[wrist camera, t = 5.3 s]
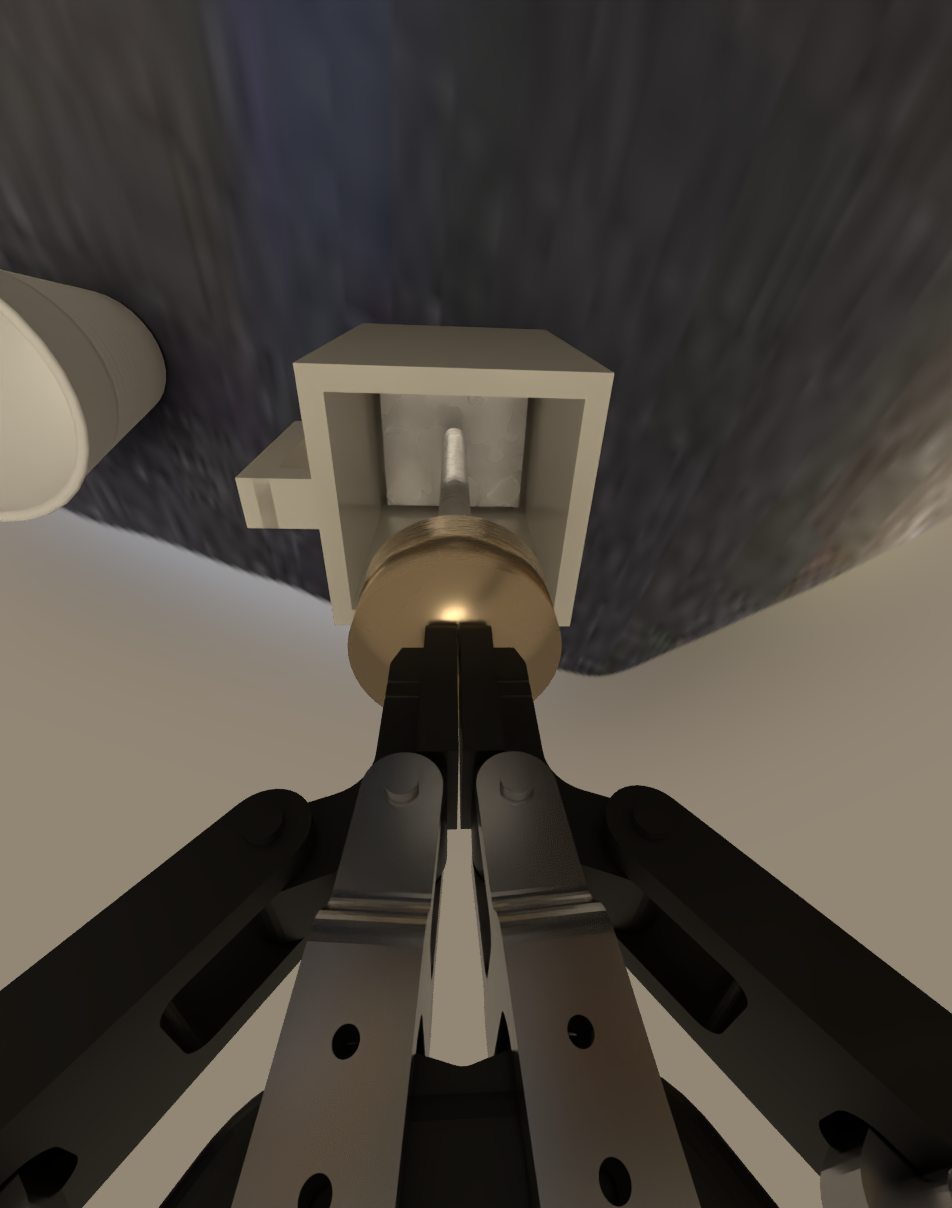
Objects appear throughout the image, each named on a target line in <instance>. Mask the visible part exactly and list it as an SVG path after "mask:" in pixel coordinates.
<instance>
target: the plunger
mask: <svg viewBox="0 0 952 1208" xmlns="http://www.w3.org/2000/svg"><path fill="white" fill-rule="evenodd" d="M380 402H381V417H382V431H383V445H384V459H385V473H386V487H387V501H388V505H422V506H439V516H438V517H432V518H428V519H425V520H421V521H418V522H416V523H413V524H411V525H409V526H407V527H405V528H403V529H402V530H400V531H398V532H397V533H395V534H394V535H393V536H392V537H390V538H389V539H388V540H387V541H386V542H385V543H384V544H383V545H382V546H381V547H380V548H379V549H378V551H377V552H376V554H375V555H374V557H373V558H372V560H371V562H370V565H369V567H368V569H367V573H366V576H365V579H364V583H363V586H362V590H361V593H360V597H359V600H358V604H357V607H356V611H355V614H354V618H353V621H352V625H351V628H350V632H349V637H348V656H349V660H350V664H351V668H352V670H353V672H354V675H355V677H356V679H357V680H358V682H359V684H360V685H361V687H362V688H363V689H364V690H365V692H366V693H367V694H368V695H369V696H370V697H371V698H372V699H373V700H374V701H375V702H377V703H378V704H379V705H381V706H382V707H383V706H384V700H385V694H386V687H387V684H388V675H389V668H390V663H391V661H392V660H393V659H394V657H395V656H396V655H397V654H398V652H399V651H400V650H401V648H424V638H425V626H426V625H450V626H457V666H458V728H459V635H460V625H487V626H491V628H492V636H493V645H494V647H511V648H515V649H516V651H517V652H518V653H519V655H520V656H521V657H522V658H523V660H524V661H525V662H526V666H527V671H528V676H529V684H530V687H531V692H532V698H533V701H534V700H535V699H536V698H537V697H538V696H539V695H540V694H541V693H542V692H543V691H544V690H545V688H546V687H547V686H548V685H549V683H550V681H551V680H552V678H553V677H554V675H555V672H556V670H557V668H558V665H559V661H560V657H561V648H562V642H561V633H560V629H559V625H558V621H557V618H556V615H555V611H554V608H553V605H552V601H551V598H550V595H549V591H548V588H547V585H546V581H545V578H544V575H543V571H542V569H541V566H540V564H539V562H538V560H537V558H536V556H535V555H534V553H533V552H532V550H531V549H530V548H529V547H528V546H527V545H526V543H525V542H524V541H522V540H521V539H520V538H519V537H518V536H517V535H515V534H514V533H512V532H511V531H509V530H508V529H506V528H505V527H502V526H500V525H498V524H496V523H494V522H491V521H488V520H485V519H482V518H477V517H472V516H471V509H470V506H481V507H519V496H520V485H521V473H522V462H523V451H524V440H525V428H526V417H527V406H528V397H493V396H458V395H423V394H387V393H380Z"/></svg>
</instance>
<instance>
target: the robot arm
mask: <svg viewBox="0 0 952 1208" xmlns="http://www.w3.org/2000/svg"><path fill="white" fill-rule="evenodd" d="M459 754H460V755H459ZM459 756H460V815H461V816H460V819H461V829H471V831H472V866H471V867H472V880H473V890H474V899H475V909H476V917H477V927H478V936H479V945H480V955H481V964H482V974H483V986H484V1008H485V1024H486V1025H485V1026H486V1038H487V1049H488V1058H487V1059H484V1060H482V1061H480V1062H477V1063H475V1064H472V1065H469V1066H456V1065H452V1064H449V1063H446V1062H443V1061H439V1060H436V1059H433V1058H430V1057H429V1050H430V1037H431V1023H432V1004H433V986H434V973H435V962H436V951H437V939H438V928H439V917H440V905H441V894H442V882H443V870H444V868H445V864H446V860H447V829H457V804H458V761H459ZM300 960H301V963H300V966H299V970H298V974H297V977H296V981H295V984H294V988H293V991H292V995H291V999H290V1002H289V1005H288V1009H287V1013H286V1016H285V1019H284V1023H283V1026H282V1030H281V1034H280V1037H279V1041H278V1044H277V1048H276V1051H275V1055H274V1058H273V1062H272V1065H271V1069H270V1072H269V1076H268V1079H267V1083H266V1086H265V1090H264V1091H262V1092H261V1093H259V1094H258V1095H257V1096H255V1097H254V1098H253V1099H251V1100H250V1101H249V1102H248V1103H247V1104H246V1105H245V1106H244V1107H242V1108H241V1109H240V1110H239V1111H238V1112H237V1113H236V1114H235V1115H234V1116H233V1117H231V1119H230V1120H229V1121H228V1122H227V1123H226V1124H225V1125H224V1126H223V1127H222V1128H221V1129H220V1131H219V1132H218V1133H217V1134H216V1135H215V1136H214V1137H213V1138H212V1139H211V1140H210V1142H209V1143H208V1144H207V1145H206V1147H205V1148H204V1149H203V1151H202V1152H201V1153H200V1154H199V1156H198V1157H197V1158H196V1159H195V1161H194V1162H193V1163H192V1165H191V1166H190V1167H189V1169H188V1170H187V1171H186V1172H185V1174H184V1175H183V1176H182V1178H181V1179H180V1180H179V1182H178V1183H177V1184H176V1186H175V1187H174V1188H173V1189H172V1191H171V1192H170V1193H169V1195H168V1196H167V1197H166V1199H165V1200H164V1201H163V1203H162V1204H161V1205H160V1207H159V1208H779V1207H778V1206H777V1204H776V1203H775V1202H774V1201H773V1199H771V1197H770V1196H769V1195H768V1193H767V1192H766V1191H765V1190H764V1188H763V1187H762V1186H761V1185H760V1183H759V1182H758V1181H757V1180H756V1179H755V1177H754V1176H753V1175H752V1174H751V1172H750V1171H749V1170H748V1169H747V1167H745V1165H744V1164H743V1163H742V1161H741V1160H740V1159H739V1158H738V1156H737V1155H736V1154H735V1153H734V1151H733V1150H732V1149H731V1148H730V1147H729V1146H728V1144H727V1143H726V1142H725V1141H724V1139H723V1138H722V1137H721V1135H720V1134H719V1133H718V1132H717V1131H716V1129H715V1128H714V1127H713V1126H712V1125H711V1123H710V1122H709V1121H708V1120H707V1119H706V1118H705V1116H704V1115H703V1114H702V1113H701V1112H700V1111H699V1110H697V1108H696V1107H695V1106H694V1105H693V1104H692V1103H691V1102H690V1101H689V1100H688V1099H687V1098H686V1097H685V1096H684V1095H683V1094H682V1093H680V1092H679V1091H678V1090H677V1089H676V1088H674V1087H673V1086H672V1085H671V1084H669V1083H668V1082H667V1081H666V1080H664V1079H663V1078H662V1077H660V1075H659V1072H658V1069H657V1065H656V1062H655V1059H654V1056H653V1053H652V1050H651V1047H650V1043H649V1040H648V1037H647V1034H646V1030H645V1027H644V1024H643V1021H642V1018H641V1014H640V1011H639V1008H638V1005H637V1002H636V999H635V995H634V992H633V989H632V986H631V982H630V979H629V976H628V973H627V970H626V967H627V968H628V969H629V970H630V972H631V973H632V974H633V975H634V976H635V977H636V978H637V979H638V980H639V981H640V982H641V983H642V985H643V986H644V987H645V988H646V989H647V990H648V991H649V992H650V993H651V994H652V995H653V996H654V998H655V999H656V1000H657V1001H658V1002H659V1003H660V1004H661V1005H662V1006H663V1007H664V1008H665V1009H666V1010H667V1012H668V1013H669V1014H670V1015H671V1016H672V1017H673V1018H674V1019H675V1020H676V1021H677V1022H678V1023H679V1025H681V1027H682V1028H683V1029H684V1030H685V1031H686V1032H687V1033H688V1034H689V1035H690V1036H691V1038H692V1039H693V1040H694V1041H695V1042H696V1043H697V1044H698V1045H699V1046H700V1047H701V1048H702V1049H703V1050H704V1052H705V1053H706V1054H707V1055H708V1056H709V1057H710V1058H711V1059H712V1060H713V1061H714V1062H715V1063H716V1064H717V1066H718V1067H719V1068H720V1069H721V1070H722V1071H723V1072H724V1073H725V1074H726V1075H727V1076H728V1078H729V1079H730V1080H732V1082H733V1083H734V1084H735V1085H736V1086H737V1087H738V1088H739V1089H740V1090H741V1091H742V1093H744V1095H745V1096H746V1097H747V1098H748V1099H749V1100H750V1101H751V1102H752V1103H753V1105H755V1107H756V1108H757V1109H758V1110H759V1111H760V1112H761V1113H762V1114H763V1115H764V1116H765V1117H766V1119H767V1120H768V1121H769V1122H770V1123H771V1124H772V1125H773V1126H774V1127H775V1128H776V1129H777V1130H778V1132H779V1133H780V1134H781V1135H782V1136H783V1137H784V1138H785V1139H786V1140H787V1141H788V1142H789V1143H790V1144H791V1146H792V1147H793V1148H794V1149H795V1150H796V1151H797V1152H798V1153H799V1154H800V1155H801V1156H802V1157H803V1158H804V1160H805V1161H806V1162H807V1163H808V1164H809V1165H810V1166H811V1167H812V1168H813V1169H814V1170H815V1172H816V1173H817V1174H818V1175H819V1176H820V1177H821V1178H820V1190H821V1199H822V1205H823V1208H952V1014H951V1013H950V1012H949V1011H948V1010H946V1009H945V1008H944V1007H942V1006H941V1005H940V1004H938V1003H937V1002H936V1001H934V1000H933V999H932V998H930V997H929V996H928V995H927V994H925V993H924V992H923V991H922V990H920V989H919V988H917V987H916V986H915V985H914V984H912V983H911V982H910V981H909V980H907V979H906V978H905V977H903V976H902V975H901V974H899V973H898V972H897V971H896V970H894V969H893V968H892V967H890V966H889V965H888V964H887V963H885V962H884V961H883V960H881V959H880V958H879V957H877V956H876V955H875V954H874V953H872V952H871V951H870V950H868V949H867V948H866V947H865V946H863V945H862V944H861V943H859V942H858V941H857V940H856V939H854V938H853V937H852V936H850V935H849V934H848V933H846V932H845V931H844V930H843V929H841V928H840V927H839V926H837V925H836V924H835V923H833V922H832V921H831V920H830V919H828V918H827V917H826V916H824V915H823V914H822V913H821V912H819V911H818V910H817V909H815V908H814V907H813V906H811V905H810V904H809V903H807V902H806V901H805V900H804V899H802V898H801V897H800V896H799V895H797V894H796V893H795V892H793V891H792V890H791V889H789V888H788V887H787V886H786V885H784V884H783V883H781V882H780V881H779V880H778V879H776V878H775V877H774V876H773V875H771V874H770V873H769V872H767V871H766V870H765V869H764V868H762V867H761V866H759V865H758V864H757V863H756V862H754V861H753V860H752V859H751V858H749V857H748V856H747V855H745V854H744V853H743V852H741V851H740V850H739V849H737V848H736V847H735V846H734V845H732V844H731V843H729V841H727V840H726V839H725V838H723V837H722V836H721V835H719V834H718V833H717V832H716V831H714V830H713V829H712V828H710V827H709V826H708V825H707V824H705V823H704V822H703V821H701V820H700V819H699V818H697V817H696V816H695V815H693V814H692V813H691V812H690V811H688V810H687V809H686V808H684V807H683V806H682V805H681V804H679V803H678V802H677V801H675V800H674V799H673V798H671V797H670V796H668V795H667V794H665V793H663V792H661V791H659V790H657V789H654V788H651V787H646V786H639V785H636V786H628V787H624V788H622V789H620V790H618V791H617V792H615V793H614V794H613V795H612V796H611V798H608V797H605V796H602V795H598V794H595V793H591V792H588V791H584V790H581V789H578V788H575V787H573V786H571V785H569V784H568V783H566V782H564V781H563V780H561V779H560V778H559V777H558V776H557V775H556V774H555V773H554V772H553V771H552V770H551V769H550V767H549V766H548V764H547V762H546V760H545V758H544V754H543V750H542V745H541V740H540V734H539V730H538V724H537V719H536V713H535V708H534V703H533V698H532V692H531V687H530V684H529V676H528V671H527V666H526V662H525V661H524V660H523V658H522V657H521V656H520V655H519V653H518V652H517V651H516V649H515V648H511V647H494V645H493V636H492V628H491V626H487V625H460V635H459V736H458V666H457V626H450V625H426V626H425V638H424V648H401V650H400V651H399V652H398V654H397V655H396V656H395V657H394V659H393V660H392V661H391V663H390V668H389V675H388V684H387V687H386V694H385V700H384V706H383V713H382V719H381V725H380V732H379V738H378V745H377V751H376V756H375V760H374V762H373V765H372V766H371V767H370V769H369V770H368V771H367V772H366V774H365V776H364V777H363V778H362V779H361V780H360V781H359V782H358V783H357V784H355V785H353V786H352V787H350V788H348V789H346V790H345V791H342V792H340V793H337V794H334V795H331V796H328V797H325V798H321V799H318V800H315V801H312V802H308V803H307V801H306V800H305V799H304V798H303V797H302V796H300V795H299V794H297V793H296V792H293V791H291V790H285V789H272V790H266V791H263V792H259V793H257V794H254V795H252V796H250V797H248V798H247V799H245V800H243V801H242V802H241V803H239V804H238V805H237V806H235V807H234V808H233V809H232V810H230V811H229V812H228V813H226V814H225V815H224V816H223V817H221V818H220V819H219V820H218V821H216V822H215V823H214V824H212V825H211V826H210V827H209V828H207V829H206V830H205V831H203V832H202V833H201V834H200V835H198V836H197V837H196V838H195V839H193V840H192V841H191V842H190V843H188V844H187V845H186V846H184V847H183V848H182V849H180V850H179V851H178V852H177V853H176V854H174V855H173V856H172V857H170V858H169V859H168V860H166V861H165V862H164V863H163V864H161V865H160V866H159V867H158V868H156V869H155V870H154V871H153V872H151V873H150V874H149V875H147V876H146V877H145V878H144V879H142V880H141V881H140V882H138V883H137V884H136V885H135V886H133V887H132V888H131V889H130V890H128V891H127V892H126V893H124V894H123V895H122V896H121V897H119V898H118V899H117V900H116V901H114V902H113V903H112V904H110V905H109V906H108V907H107V908H105V909H104V910H103V911H101V912H100V913H99V914H98V915H96V916H95V917H94V918H93V919H91V920H90V921H89V922H87V923H86V924H85V925H84V926H82V927H81V928H80V929H79V930H77V931H76V932H75V933H73V934H72V935H71V936H70V937H68V938H67V939H66V940H65V941H63V942H62V943H61V944H60V945H58V946H57V947H56V948H54V949H53V950H52V951H51V952H49V953H48V954H47V955H46V956H44V957H43V958H42V959H40V960H39V961H38V962H37V963H35V964H34V965H33V966H31V967H30V968H29V969H28V970H26V971H25V972H24V973H23V974H21V975H20V976H19V977H17V978H16V979H15V980H14V981H12V982H11V983H10V984H8V985H7V986H6V987H5V988H3V989H2V990H1V991H0V1208H82V1207H83V1206H84V1205H85V1204H86V1203H87V1201H88V1200H89V1199H90V1198H91V1197H92V1196H93V1195H94V1194H95V1192H96V1191H97V1190H98V1189H99V1188H100V1187H101V1186H102V1184H103V1183H104V1182H105V1181H106V1180H107V1179H108V1178H109V1176H110V1175H111V1174H112V1173H113V1172H114V1171H115V1170H116V1169H117V1168H118V1166H119V1165H120V1164H121V1163H122V1162H123V1161H124V1160H125V1158H126V1157H127V1156H128V1155H129V1154H130V1153H131V1152H132V1151H133V1149H134V1148H135V1147H136V1146H137V1145H138V1144H139V1142H140V1141H141V1140H142V1139H143V1138H144V1137H145V1136H146V1135H147V1134H148V1132H149V1131H150V1130H151V1129H152V1128H153V1127H154V1126H155V1125H156V1123H157V1122H158V1121H159V1120H160V1119H161V1118H162V1116H163V1115H164V1114H165V1113H166V1112H167V1111H168V1110H169V1109H170V1107H171V1106H172V1105H173V1104H174V1103H175V1102H176V1101H177V1100H178V1098H179V1097H180V1096H181V1095H182V1094H183V1093H184V1092H185V1090H186V1089H187V1088H188V1087H189V1086H190V1085H191V1084H192V1083H193V1081H194V1080H195V1079H196V1078H197V1077H198V1076H199V1075H200V1073H201V1072H202V1071H203V1070H204V1069H205V1068H206V1067H207V1066H208V1065H209V1063H210V1062H211V1061H212V1060H213V1059H214V1058H215V1057H216V1055H217V1054H218V1053H219V1052H220V1051H221V1050H222V1049H223V1048H224V1046H225V1045H226V1044H227V1043H228V1042H229V1041H230V1040H231V1038H232V1037H233V1036H234V1035H235V1034H236V1033H237V1032H238V1031H239V1029H240V1028H241V1027H242V1026H243V1025H244V1024H245V1023H246V1022H247V1020H248V1019H249V1018H250V1017H251V1016H252V1015H253V1013H254V1012H255V1011H256V1010H257V1009H258V1008H259V1007H260V1006H261V1004H262V1003H263V1002H264V1001H265V1000H266V999H267V998H268V997H269V995H270V994H271V993H272V992H273V991H274V990H275V989H276V987H277V986H278V985H279V984H280V983H281V982H282V981H283V979H284V978H285V977H286V976H287V975H288V974H289V973H290V972H291V971H292V969H293V968H294V967H295V966H296V965H297V964H298V963H299V961H300Z"/></svg>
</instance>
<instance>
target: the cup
mask: <svg viewBox="0 0 952 1208" xmlns="http://www.w3.org/2000/svg"><path fill="white" fill-rule="evenodd" d="M165 384H166V368H165V364H164V359H163V356H162V353H161V351H160V348H159V346H158V344H157V342H156V340H155V339H154V337H153V335H152V334H151V332H150V331H149V330H148V328H147V327H146V326H145V325H144V323H143V322H142V321H141V320H140V319H139V318H138V317H137V316H136V315H135V314H134V313H133V312H132V311H130V310H129V309H128V308H126V307H125V306H124V305H122V304H121V303H120V302H118V301H116V300H114V299H112V298H110V297H108V296H106V295H103V294H100V293H97V292H94V291H91V290H87V289H82V288H78V287H74V286H70V285H64V284H61V283H56V282H52V281H47V280H43V279H39V278H35V277H31V276H26V275H22V274H18V273H13V272H10V271H5V270H2V269H0V521H2V522H11V521H23V520H31V519H35V518H38V517H41V516H44V515H47V514H51V513H52V512H54V511H56V510H57V509H59V508H60V507H62V506H64V505H65V504H67V503H68V502H69V501H70V500H71V498H72V497H73V496H74V495H75V494H76V493H77V491H78V490H79V489H80V487H81V485H82V482H83V480H84V478H85V476H86V475H87V474H88V473H89V472H90V471H91V470H92V469H93V468H94V467H95V466H96V465H97V464H98V463H99V462H100V461H101V460H102V459H103V457H104V456H105V455H106V454H107V453H108V452H109V451H110V450H111V449H112V448H113V447H114V446H115V445H116V444H117V443H118V442H119V441H120V440H121V439H122V438H123V437H124V436H125V435H126V434H127V433H128V432H129V431H130V430H131V429H132V428H133V427H134V426H135V425H136V424H137V423H138V422H139V421H140V420H141V419H142V418H143V417H144V416H145V415H146V414H147V413H148V412H149V411H150V410H151V409H152V408H153V407H154V406H155V405H156V404H157V403H158V402H159V401H160V399H161V397H162V395H163V392H164V389H165Z"/></svg>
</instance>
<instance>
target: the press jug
mask: <svg viewBox="0 0 952 1208" xmlns="http://www.w3.org/2000/svg"><path fill="white" fill-rule="evenodd" d="M293 367H294V373H295V379H296V386H297V392H298V398H299V405H300V411H301V417H302V421H295V422H294V423H292V424H291V425H290V426H289V427H288V428H287V429H286V430H285V431H284V432H283V433H282V434H281V435H280V436H279V437H278V438H277V439H276V440H274V441H273V442H272V443H271V444H270V445H269V446H268V447H267V448H266V449H265V450H264V451H263V452H262V453H261V454H260V455H259V456H258V457H256V458H255V459H254V460H253V461H252V462H251V463H250V464H249V465H248V466H247V467H246V468H245V469H244V470H243V471H242V472H241V473H240V474H239V475H237V476H236V477H235V480H236V484H237V488H238V492H239V496H240V500H241V504H242V508H243V512H244V516H245V520H246V524H247V528H282V529H319V530H320V536H321V542H322V549H323V555H324V561H325V568H326V574H327V580H328V586H329V593H330V599H331V605H332V611H333V618H334V624H335V625H352V621H353V618H354V614H355V611H356V607H357V604H358V600H359V597H360V593H361V590H362V586H363V583H364V579H365V576H366V573H367V569H368V567H369V565H370V562H371V560H372V558H373V557H374V555H375V554H376V552H377V551H378V549H379V548H380V547H381V546H382V545H383V544H384V543H385V542H386V541H387V540H388V539H389V538H390V537H392V536H393V535H394V534H395V533H397V532H398V531H400V530H402V529H403V528H405V527H407V526H409V525H411V524H413V523H416V522H418V521H421V520H425V519H428V518H432V517H438V516H439V506H422V505H388V501H387V487H386V473H385V459H384V445H383V431H382V417H381V402H380V393H387V394H423V395H458V396H493V397H528V406H527V417H526V428H525V440H524V451H523V462H522V473H521V485H520V496H519V507H481V506H470V509H471V516H472V517H477V518H482V519H485V520H488V521H491V522H494V523H496V524H498V525H500V526H502V527H505V528H506V529H508V530H509V531H511V532H512V533H514V534H515V535H517V536H518V537H519V538H520V539H521V540H522V541H524V542H525V543H526V545H527V546H528V547H529V548H530V549H531V550H532V552H533V553H534V555H535V556H536V558H537V560H538V562H539V564H540V566H541V569H542V571H543V575H544V578H545V581H546V585H547V588H548V591H549V595H550V598H551V601H552V605H553V608H554V611H555V615H556V618H557V621H558V625H559V626H570V621H571V616H572V610H573V604H574V599H575V593H576V587H577V582H578V576H579V570H580V565H581V559H582V553H583V548H584V542H585V536H586V531H587V525H588V519H589V514H590V508H591V502H592V497H593V491H594V486H595V480H596V474H597V469H598V463H599V457H600V452H601V446H602V440H603V435H604V429H605V423H606V418H607V412H608V406H609V401H610V395H611V389H612V384H613V378H614V372H612V371H610V370H609V369H607V368H606V367H604V366H602V365H601V364H599V363H598V362H596V361H594V360H593V359H591V358H590V357H588V356H587V355H585V354H583V353H582V352H580V351H579V350H577V349H575V348H574V347H572V346H571V345H569V344H567V343H566V342H564V341H563V340H561V339H559V338H558V337H556V336H555V335H553V334H551V333H550V332H548V331H547V330H540V329H512V328H484V327H456V326H428V325H400V324H372V323H362V324H360V325H359V326H357V327H355V328H353V329H352V330H350V331H348V332H346V333H345V334H343V335H341V336H339V337H338V338H336V339H334V340H332V341H331V342H329V343H327V344H325V345H323V346H322V347H320V348H318V349H316V350H315V351H313V352H311V353H309V354H308V355H306V356H304V357H302V358H301V359H299V360H297V361H295V362H294V363H293Z"/></svg>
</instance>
